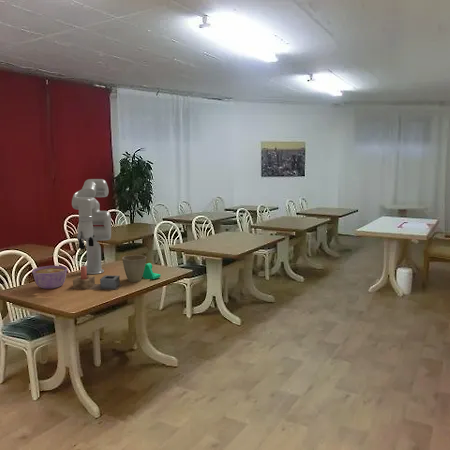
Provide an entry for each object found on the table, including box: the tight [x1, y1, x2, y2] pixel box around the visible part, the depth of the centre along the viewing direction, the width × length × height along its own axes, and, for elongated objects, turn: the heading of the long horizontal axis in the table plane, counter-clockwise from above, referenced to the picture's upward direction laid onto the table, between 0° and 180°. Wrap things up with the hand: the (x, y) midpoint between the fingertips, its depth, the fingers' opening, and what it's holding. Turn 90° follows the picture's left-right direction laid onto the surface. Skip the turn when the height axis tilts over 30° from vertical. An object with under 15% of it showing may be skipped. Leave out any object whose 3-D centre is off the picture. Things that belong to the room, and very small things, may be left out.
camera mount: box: [142, 262, 162, 280], centre depth 306 cm, size 12×8×10 cm, turn 54°
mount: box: [72, 275, 96, 290], centre depth 281 cm, size 10×9×5 cm
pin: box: [80, 265, 88, 279], centre depth 281 cm, size 3×3×12 cm
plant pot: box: [122, 254, 147, 283], centre depth 296 cm, size 15×15×16 cm
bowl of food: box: [31, 265, 68, 290], centre depth 281 cm, size 20×20×12 cm
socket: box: [99, 274, 121, 289], centre depth 280 cm, size 9×9×6 cm
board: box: [70, 283, 123, 291], centre depth 281 cm, size 28×12×1 cm, turn 86°
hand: (86, 247), depth 279 cm, fingers open, 9 cm apart
